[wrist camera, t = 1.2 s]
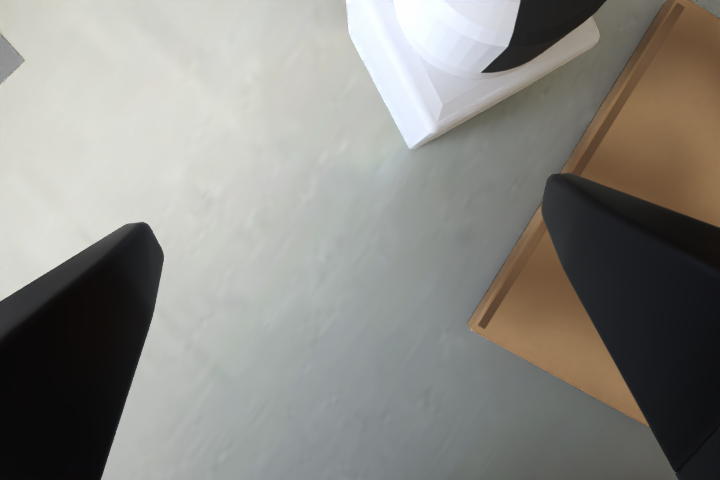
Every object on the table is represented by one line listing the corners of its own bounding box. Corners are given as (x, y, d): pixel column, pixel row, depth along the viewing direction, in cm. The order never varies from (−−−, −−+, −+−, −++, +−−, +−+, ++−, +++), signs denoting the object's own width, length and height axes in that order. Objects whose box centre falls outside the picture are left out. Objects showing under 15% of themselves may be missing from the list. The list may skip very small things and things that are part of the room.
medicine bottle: (467, -39, 21) (606, -338, 9) (527, 86, 22) (729, -35, 10) (346, 32, 21) (327, -162, 9) (410, 152, 22) (465, 113, 10)
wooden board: (652, 425, 24) (665, 436, 23) (466, 323, 23) (471, 330, 22) (862, 126, 22) (887, 123, 21) (664, 2, 21) (679, -8, 20)
